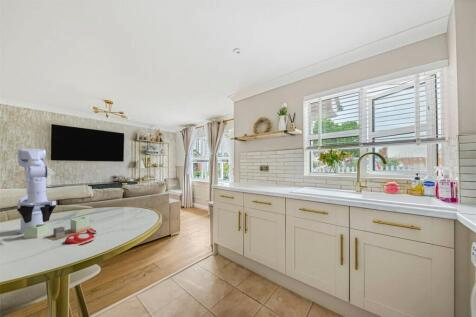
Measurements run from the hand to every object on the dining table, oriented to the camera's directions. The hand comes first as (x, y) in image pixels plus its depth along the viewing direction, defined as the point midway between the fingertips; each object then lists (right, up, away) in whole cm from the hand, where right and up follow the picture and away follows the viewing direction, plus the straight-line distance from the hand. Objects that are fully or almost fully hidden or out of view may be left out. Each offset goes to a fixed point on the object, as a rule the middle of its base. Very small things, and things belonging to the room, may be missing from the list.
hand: (37, 221), depth 83 cm
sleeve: (0, -7, 0) cm, 7 cm away
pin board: (+13, -7, +3) cm, 15 cm away
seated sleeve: (+14, -6, +6) cm, 17 cm away
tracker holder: (+25, -7, -4) cm, 27 cm away
